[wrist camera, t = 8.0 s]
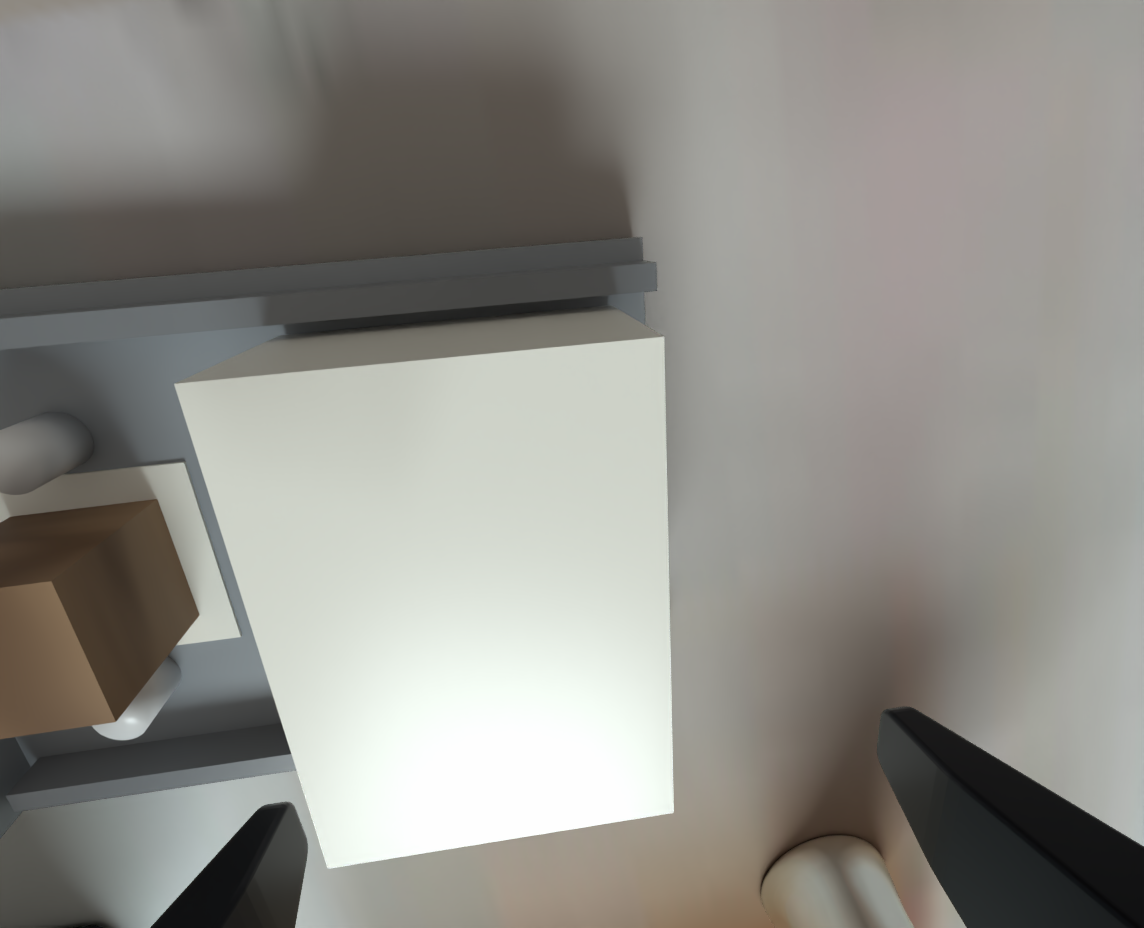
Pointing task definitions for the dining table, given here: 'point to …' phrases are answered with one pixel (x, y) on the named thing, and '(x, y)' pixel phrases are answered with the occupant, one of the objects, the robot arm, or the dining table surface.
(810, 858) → the beer glass
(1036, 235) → the dining table surface
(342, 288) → the housing base
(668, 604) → the cover
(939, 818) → the robot arm
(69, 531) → the walnut block
